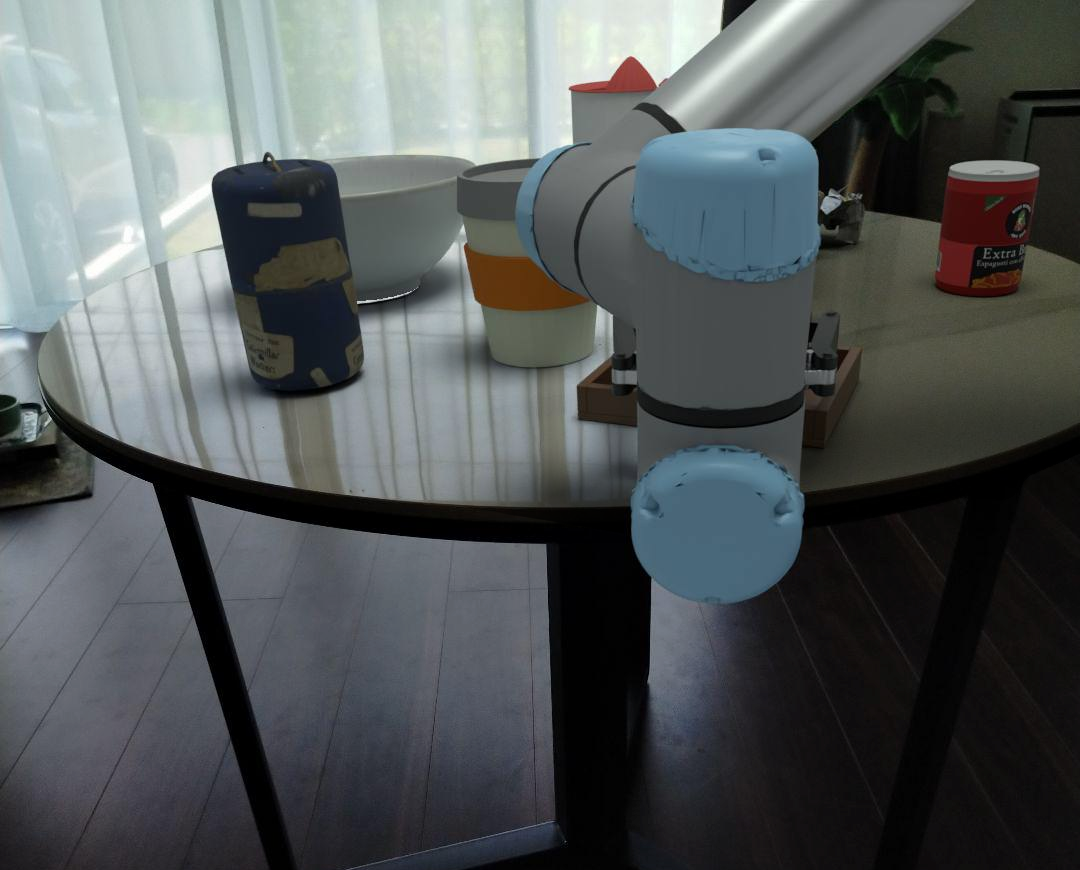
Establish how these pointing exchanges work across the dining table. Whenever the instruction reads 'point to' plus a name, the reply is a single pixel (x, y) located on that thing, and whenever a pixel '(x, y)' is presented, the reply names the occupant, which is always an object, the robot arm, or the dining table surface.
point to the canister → (290, 271)
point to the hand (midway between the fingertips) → (724, 301)
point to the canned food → (985, 227)
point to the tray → (819, 411)
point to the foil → (841, 214)
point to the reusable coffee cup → (517, 276)
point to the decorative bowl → (397, 218)
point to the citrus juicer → (608, 100)
